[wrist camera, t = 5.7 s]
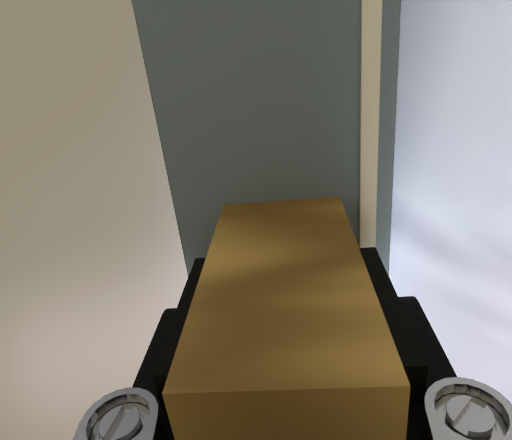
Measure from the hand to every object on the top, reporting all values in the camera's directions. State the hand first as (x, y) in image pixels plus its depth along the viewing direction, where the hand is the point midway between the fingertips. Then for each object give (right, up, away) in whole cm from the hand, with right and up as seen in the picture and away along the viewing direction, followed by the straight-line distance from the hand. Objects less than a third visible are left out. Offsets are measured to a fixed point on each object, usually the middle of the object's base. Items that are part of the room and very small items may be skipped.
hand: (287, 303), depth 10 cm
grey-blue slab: (0, +1, +2) cm, 3 cm away
